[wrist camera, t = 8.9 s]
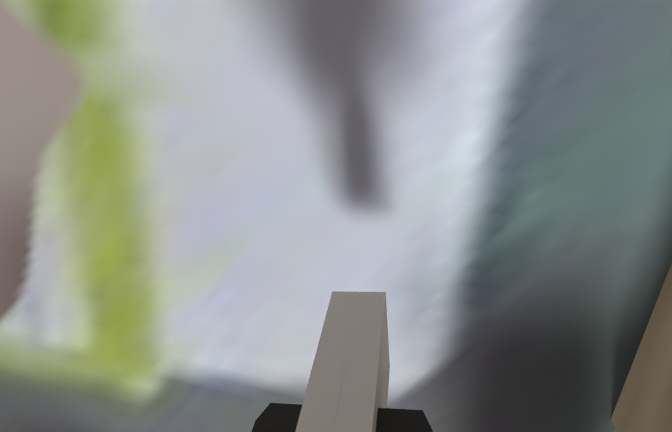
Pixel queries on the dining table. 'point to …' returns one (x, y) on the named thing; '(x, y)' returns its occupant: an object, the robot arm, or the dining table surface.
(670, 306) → the birch block
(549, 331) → the dining table surface
